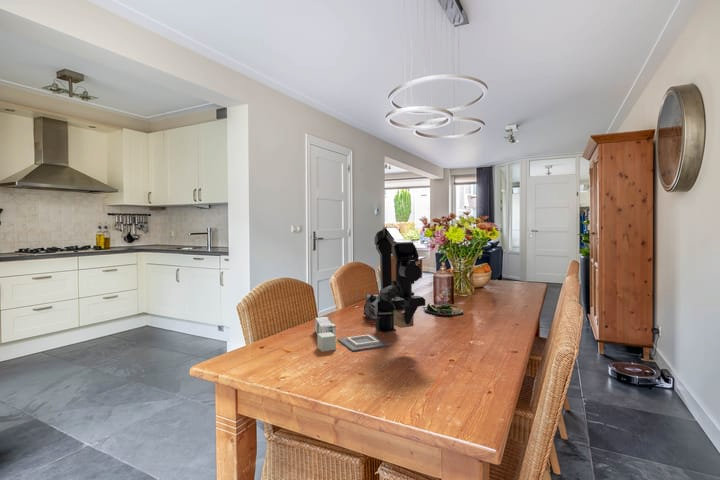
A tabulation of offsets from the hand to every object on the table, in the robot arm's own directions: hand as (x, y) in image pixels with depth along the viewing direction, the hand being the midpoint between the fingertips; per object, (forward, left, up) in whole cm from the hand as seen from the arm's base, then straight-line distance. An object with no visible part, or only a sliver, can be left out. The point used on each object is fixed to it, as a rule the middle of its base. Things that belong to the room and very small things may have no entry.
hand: (403, 322), depth 131 cm
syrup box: (+18, -34, -7) cm, 39 cm away
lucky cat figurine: (-14, -43, -10) cm, 46 cm away
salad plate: (-46, -39, -10) cm, 61 cm away
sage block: (+24, -12, -10) cm, 28 cm away
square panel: (+10, -12, -10) cm, 18 cm away
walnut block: (0, 0, -1) cm, 1 cm away
